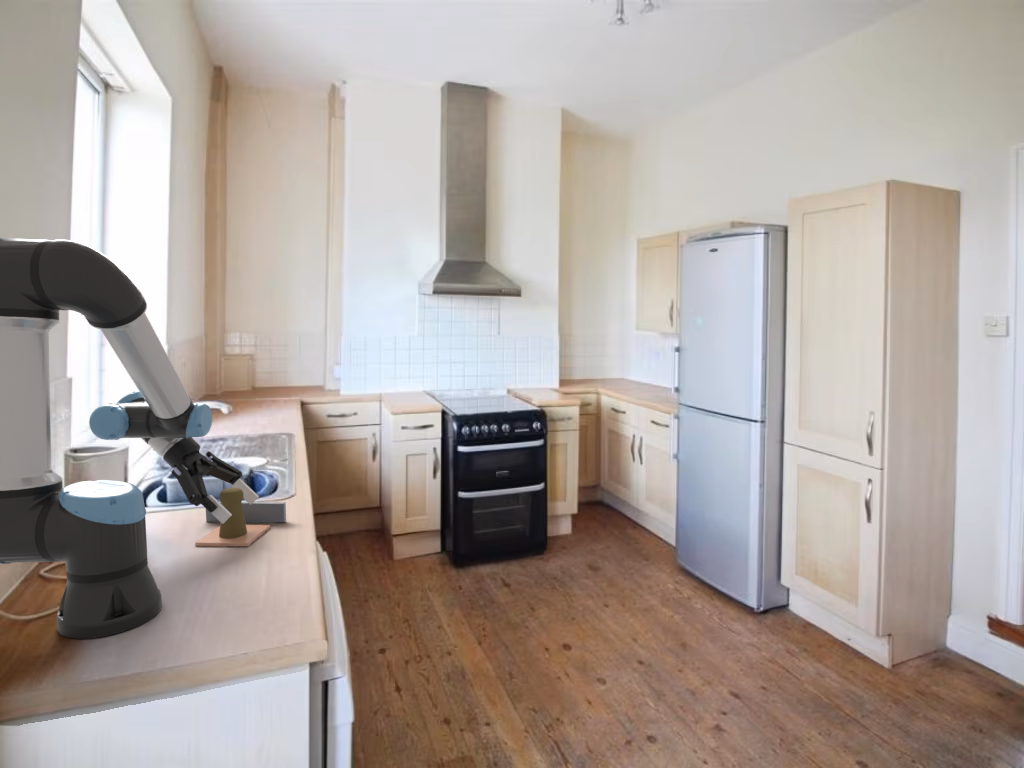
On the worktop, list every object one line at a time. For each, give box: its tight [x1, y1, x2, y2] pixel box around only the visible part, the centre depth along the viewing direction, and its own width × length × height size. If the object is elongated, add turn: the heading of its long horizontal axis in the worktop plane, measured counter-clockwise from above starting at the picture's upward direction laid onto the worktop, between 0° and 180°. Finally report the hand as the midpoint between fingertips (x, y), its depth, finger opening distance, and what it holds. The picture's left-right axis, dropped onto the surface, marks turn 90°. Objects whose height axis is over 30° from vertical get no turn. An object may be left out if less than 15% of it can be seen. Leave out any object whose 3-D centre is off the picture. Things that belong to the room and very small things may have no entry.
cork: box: [218, 487, 247, 539], centre depth 140 cm, size 6×6×11 cm
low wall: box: [205, 500, 287, 523], centre depth 152 cm, size 1×20×5 cm, turn 89°
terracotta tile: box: [194, 524, 271, 547], centre depth 141 cm, size 12×12×1 cm
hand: (241, 509), depth 141 cm, fingers open, 13 cm apart
